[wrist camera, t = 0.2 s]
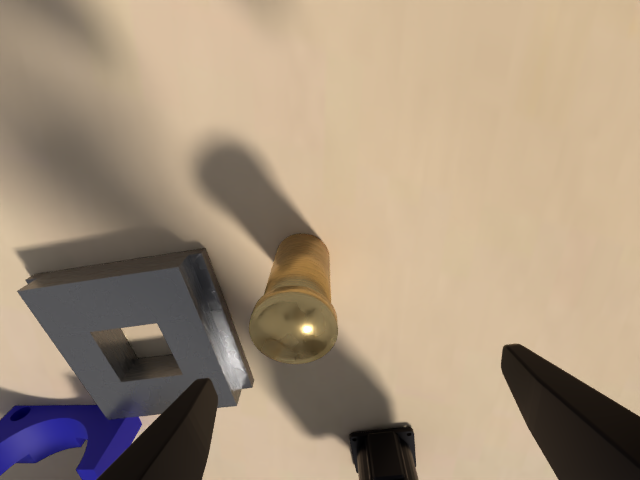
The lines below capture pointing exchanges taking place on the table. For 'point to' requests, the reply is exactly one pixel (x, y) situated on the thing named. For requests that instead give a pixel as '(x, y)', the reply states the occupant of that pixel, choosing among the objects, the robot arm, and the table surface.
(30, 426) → the cable clip
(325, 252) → the gold flared cylinder
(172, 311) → the plate
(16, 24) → the table surface
